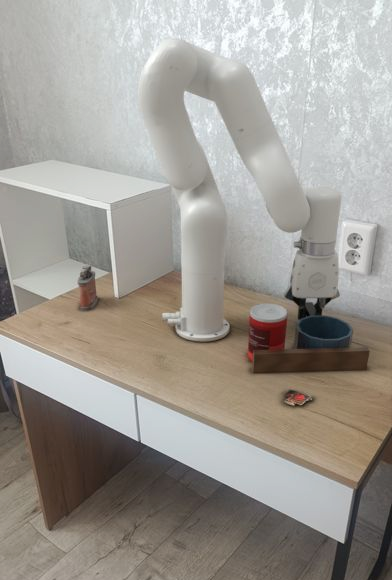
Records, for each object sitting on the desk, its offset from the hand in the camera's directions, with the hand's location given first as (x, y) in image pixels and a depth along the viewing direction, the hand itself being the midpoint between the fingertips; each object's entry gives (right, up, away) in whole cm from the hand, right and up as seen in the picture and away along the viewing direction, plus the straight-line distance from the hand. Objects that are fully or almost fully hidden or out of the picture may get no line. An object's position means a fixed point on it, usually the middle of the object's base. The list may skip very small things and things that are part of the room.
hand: (308, 321), depth 131 cm
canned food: (-12, -9, -12) cm, 18 cm away
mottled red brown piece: (-7, -16, -26) cm, 31 cm away
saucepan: (0, -5, -6) cm, 8 cm away
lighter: (-54, +5, +12) cm, 55 cm away
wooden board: (-3, -11, -16) cm, 19 cm away
